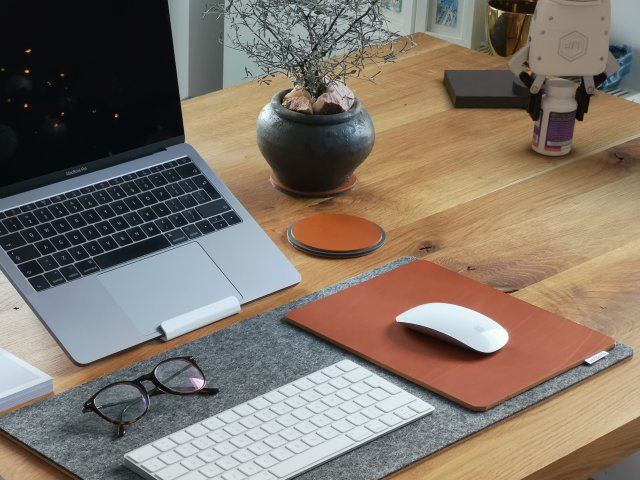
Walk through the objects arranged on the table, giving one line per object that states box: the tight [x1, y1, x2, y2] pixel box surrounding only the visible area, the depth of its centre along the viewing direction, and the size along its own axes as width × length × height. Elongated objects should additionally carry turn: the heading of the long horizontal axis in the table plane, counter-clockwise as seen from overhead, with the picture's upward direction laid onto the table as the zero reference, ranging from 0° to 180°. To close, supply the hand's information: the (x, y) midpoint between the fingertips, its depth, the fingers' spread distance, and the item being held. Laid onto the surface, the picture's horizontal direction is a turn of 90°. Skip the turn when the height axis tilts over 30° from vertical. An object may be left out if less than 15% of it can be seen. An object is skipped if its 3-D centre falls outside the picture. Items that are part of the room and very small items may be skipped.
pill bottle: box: [531, 78, 578, 157], centre depth 154 cm, size 5×5×10 cm
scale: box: [443, 69, 551, 109], centre depth 174 cm, size 15×13×4 cm
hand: (555, 116), depth 154 cm, fingers closed on pill bottle, 5 cm apart
